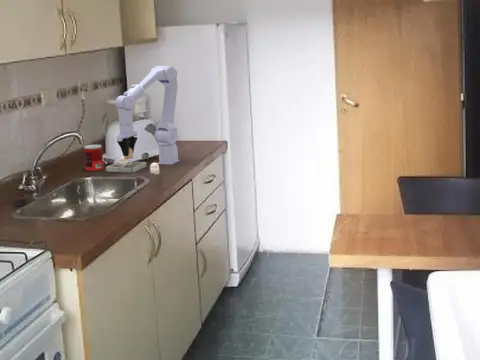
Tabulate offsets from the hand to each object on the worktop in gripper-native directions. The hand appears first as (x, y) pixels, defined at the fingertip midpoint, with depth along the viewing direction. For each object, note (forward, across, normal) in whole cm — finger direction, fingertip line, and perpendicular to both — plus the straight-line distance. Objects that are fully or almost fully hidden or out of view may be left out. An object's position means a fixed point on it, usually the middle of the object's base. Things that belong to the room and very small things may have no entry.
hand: (128, 155), depth 293 cm
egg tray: (+7, -3, -3) cm, 9 cm away
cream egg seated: (+7, -6, -6) cm, 11 cm away
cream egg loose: (+8, +1, +13) cm, 15 cm away
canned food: (+8, 0, -17) cm, 19 cm away
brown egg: (+1, 0, 0) cm, 1 cm away
